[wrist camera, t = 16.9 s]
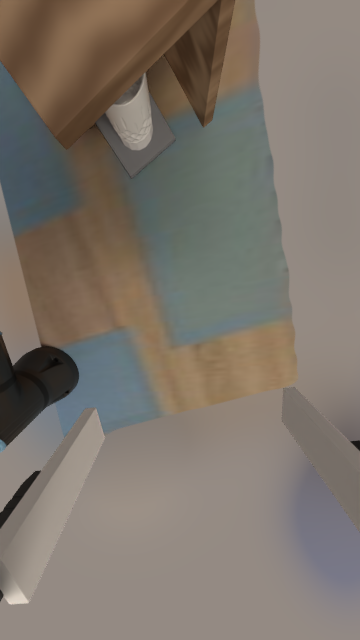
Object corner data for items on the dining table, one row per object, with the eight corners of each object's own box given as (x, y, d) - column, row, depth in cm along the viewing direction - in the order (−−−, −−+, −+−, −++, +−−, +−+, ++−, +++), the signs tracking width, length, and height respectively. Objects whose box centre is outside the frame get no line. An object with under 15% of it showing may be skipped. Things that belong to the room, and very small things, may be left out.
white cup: (119, 96, 31) (90, 16, 22) (160, 111, 32) (151, 39, 22) (111, 147, 33) (82, 94, 24) (150, 160, 34) (137, 114, 24)
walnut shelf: (212, 120, 32) (246, -60, 15) (116, 203, 36) (55, 137, 19) (167, 34, 29) (146, -313, 12) (68, 134, 33) (-57, -19, 16)
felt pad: (175, 140, 33) (175, 138, 33) (131, 178, 35) (131, 177, 34) (140, 79, 31) (139, 75, 30) (95, 123, 33) (94, 121, 32)
